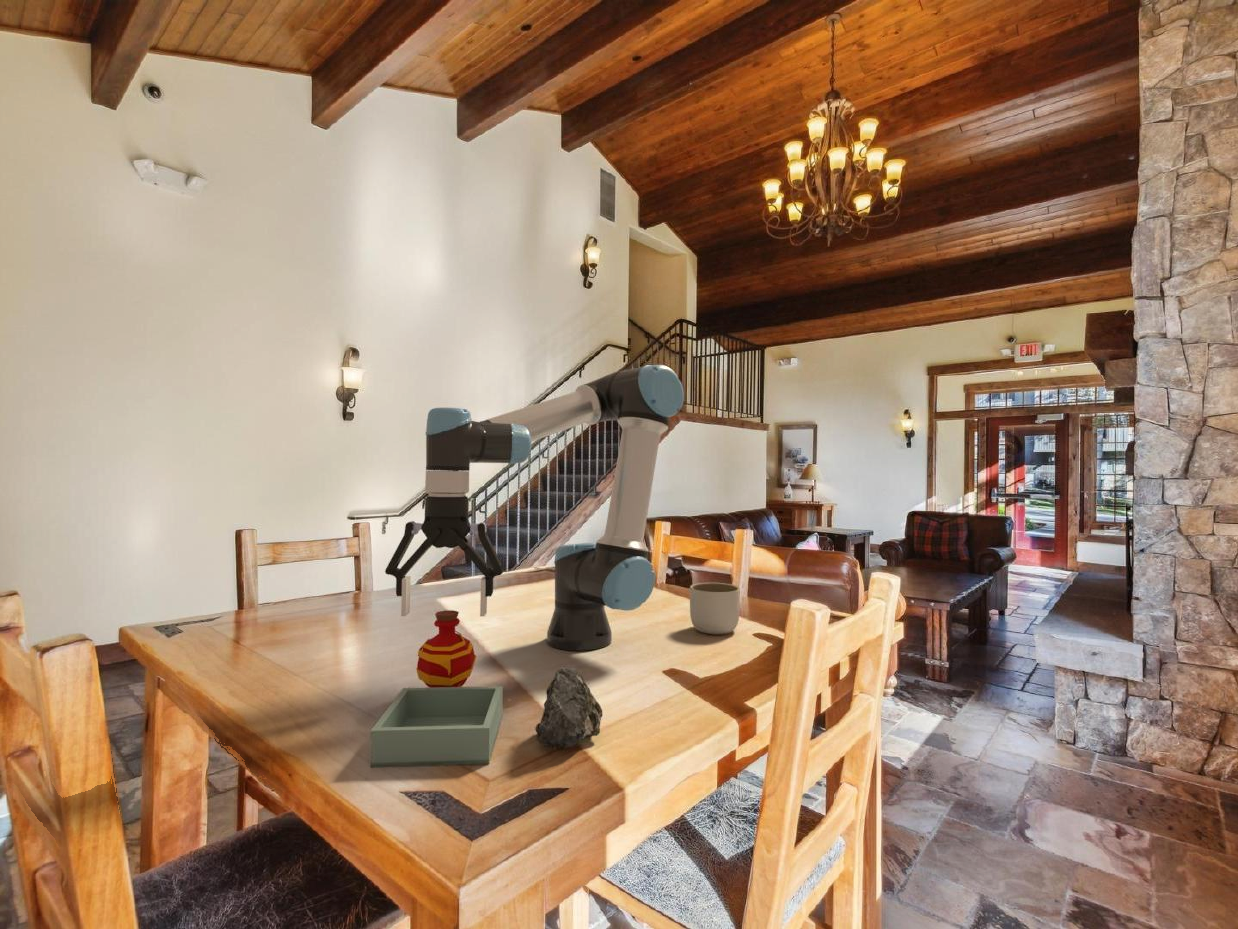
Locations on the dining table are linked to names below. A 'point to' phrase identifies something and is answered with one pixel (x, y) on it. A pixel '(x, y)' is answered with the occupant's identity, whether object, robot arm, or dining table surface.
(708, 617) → the planter
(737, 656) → the dining table surface
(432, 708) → the bin
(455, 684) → the potion bottle
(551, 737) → the rock
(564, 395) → the robot arm
